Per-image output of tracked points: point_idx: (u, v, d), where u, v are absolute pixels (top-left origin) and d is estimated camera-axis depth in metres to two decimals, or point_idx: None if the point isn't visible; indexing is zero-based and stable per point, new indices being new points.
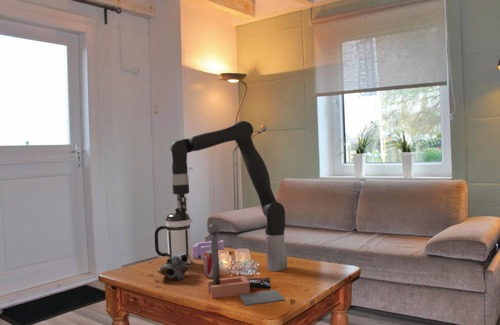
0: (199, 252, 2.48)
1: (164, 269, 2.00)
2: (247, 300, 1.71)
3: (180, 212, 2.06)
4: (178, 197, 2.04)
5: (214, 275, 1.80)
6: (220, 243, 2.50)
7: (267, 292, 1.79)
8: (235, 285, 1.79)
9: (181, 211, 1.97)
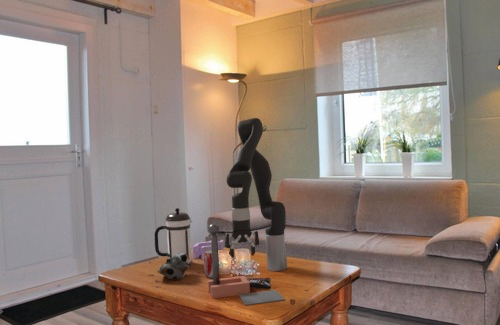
0: (199, 252, 2.48)
1: (164, 269, 2.01)
2: (247, 300, 1.71)
3: (233, 252, 1.83)
4: (236, 235, 1.82)
5: (214, 275, 1.80)
6: (220, 243, 2.50)
7: (267, 292, 1.79)
8: (235, 285, 1.79)
9: None
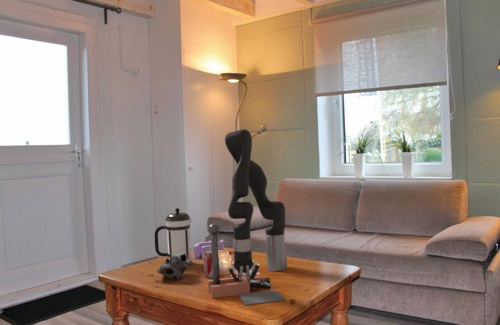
0: (199, 252, 2.48)
1: (163, 269, 2.01)
2: (247, 300, 1.71)
3: None
4: (237, 267, 1.83)
5: (214, 275, 1.80)
6: (220, 243, 2.50)
7: (267, 292, 1.79)
8: (235, 285, 1.79)
9: (249, 280, 1.84)
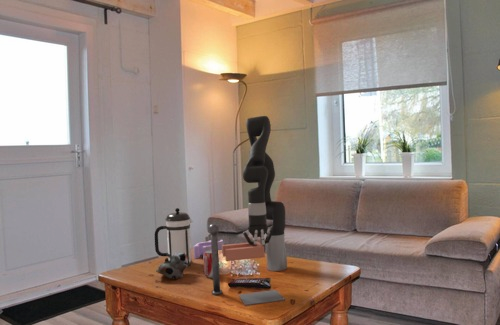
0: (199, 252, 2.48)
1: (163, 268, 2.02)
2: (247, 300, 1.71)
3: None
4: (252, 231, 1.83)
5: (214, 275, 1.80)
6: (220, 243, 2.51)
7: (267, 292, 1.79)
8: (250, 249, 1.79)
9: (264, 244, 1.84)
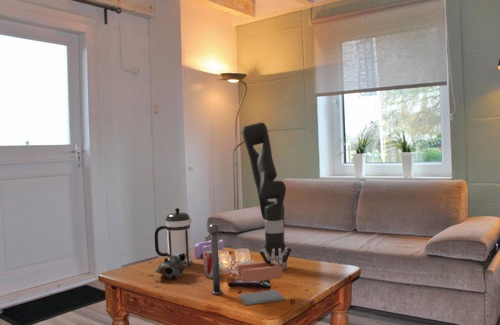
0: (199, 252, 2.49)
1: (162, 268, 2.02)
2: (247, 300, 1.71)
3: None
4: (269, 250, 1.73)
5: (214, 275, 1.80)
6: (220, 243, 2.51)
7: (267, 292, 1.79)
8: (267, 269, 1.69)
9: (281, 263, 1.75)
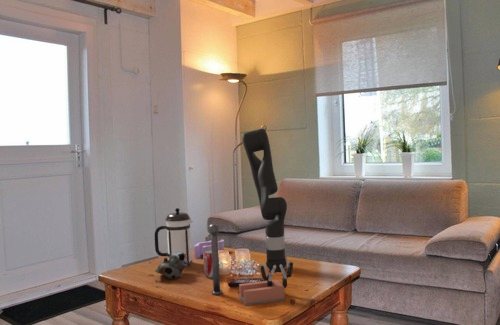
0: (200, 252, 2.49)
1: (162, 268, 2.02)
2: None
3: None
4: (270, 266, 1.73)
5: (214, 275, 1.80)
6: (221, 243, 2.51)
7: None
8: (269, 289, 1.70)
9: (286, 278, 1.76)
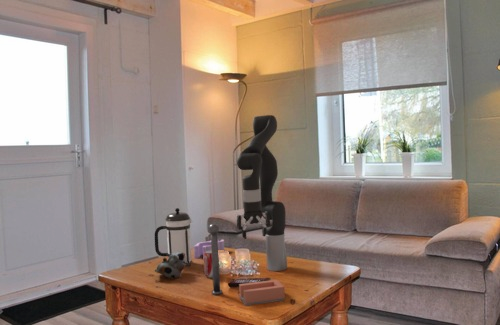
0: (200, 252, 2.49)
1: (162, 268, 2.03)
2: None
3: (245, 233, 1.85)
4: (247, 216, 1.84)
5: (214, 275, 1.80)
6: (221, 242, 2.51)
7: None
8: (269, 289, 1.70)
9: (265, 227, 1.87)
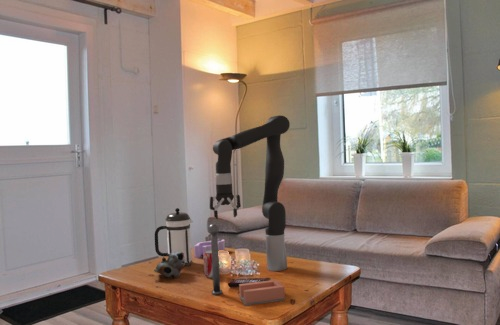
0: (200, 252, 2.49)
1: (161, 268, 2.03)
2: None
3: None
4: (219, 198, 2.00)
5: (214, 275, 1.80)
6: (221, 242, 2.51)
7: None
8: (269, 289, 1.70)
9: (236, 208, 2.03)
